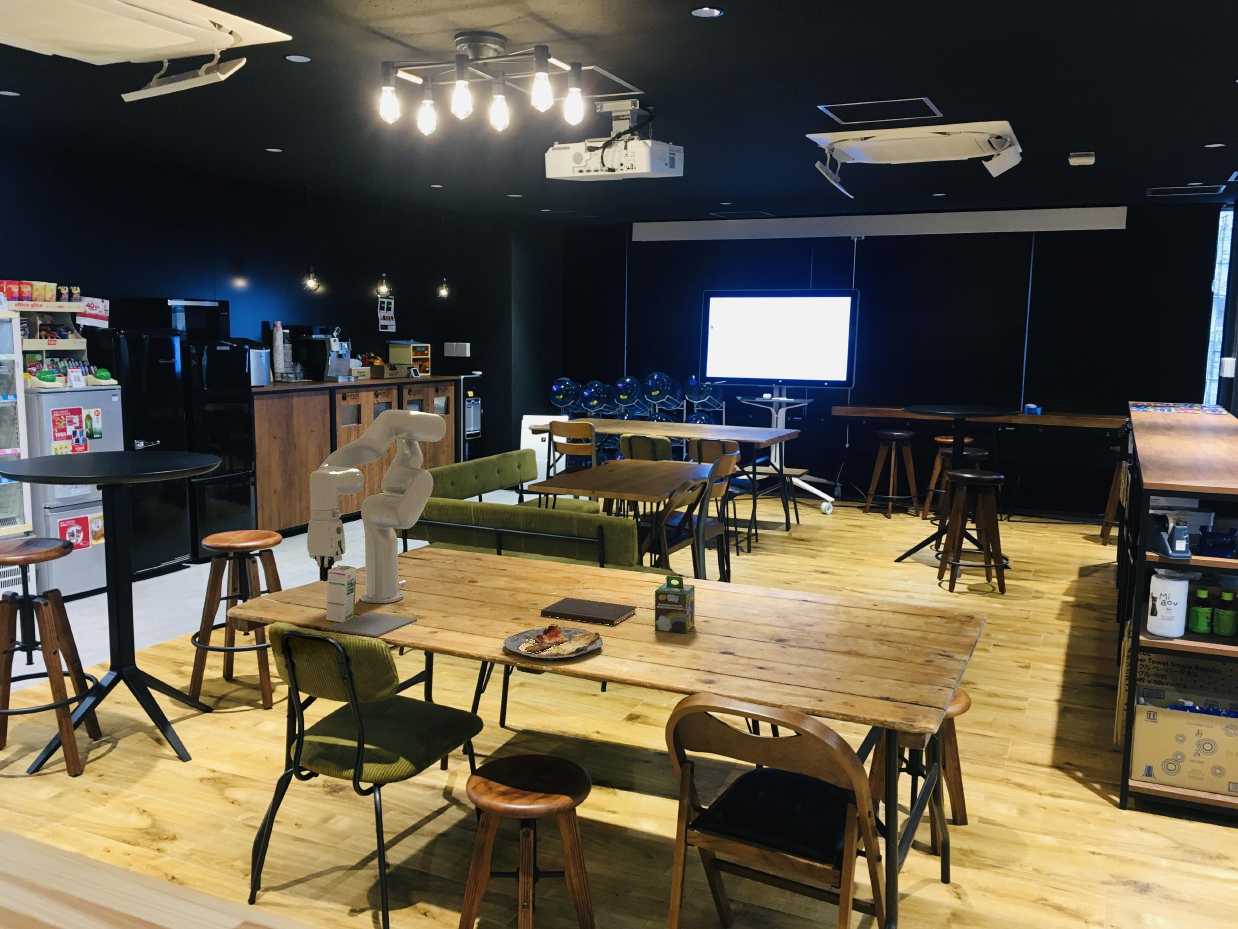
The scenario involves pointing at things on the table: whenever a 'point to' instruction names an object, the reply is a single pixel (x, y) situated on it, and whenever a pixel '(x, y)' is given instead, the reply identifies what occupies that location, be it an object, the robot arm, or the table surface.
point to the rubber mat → (372, 624)
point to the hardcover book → (588, 611)
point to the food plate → (555, 642)
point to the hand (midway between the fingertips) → (325, 580)
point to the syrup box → (341, 593)
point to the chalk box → (674, 606)
